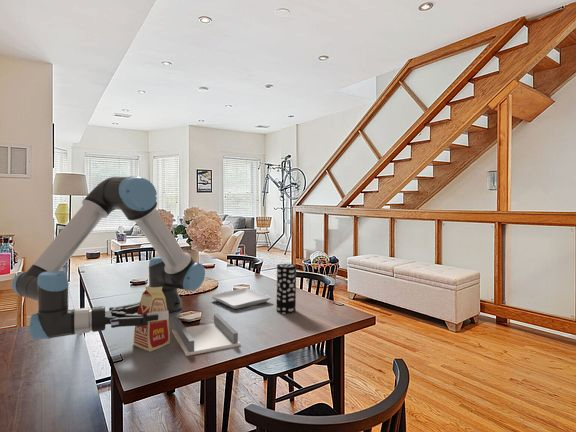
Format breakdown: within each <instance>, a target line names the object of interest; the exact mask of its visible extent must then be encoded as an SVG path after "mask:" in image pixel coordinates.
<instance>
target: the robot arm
mask: <svg viewBox="0 0 576 432" xmlns="http://www.w3.org/2000/svg"><path fill="white" fill-rule="evenodd" d="M157 194H158V193H157V189H156V187H155V186H154V184H153V182H151V181H150V180H149V179H147V178H146V177H142V176H135V175H133V176H112V177H109V178H106V179H103V180H102V181H101V182H99V183H98V184H97V185H96V186H95V187H94V188H93V189H92V190H91V191H90V192H89V193H88V194H87V195H86V196H85V198H83V200H82V202H81V204H82V206H81V207H80V208H79V210H78V211H77V212H75V214H74V215H73V217H72V218H71V219H70V220H69V221H68V222H67V224H65V226H64V227H63V228H62V229H61V231H60V232H59V233H58V234H57V235H56V237H55V238H54V239H53V240H52V241H51V242H50V244H49V245H48V246H47V247H46V248H45V250H44V251H43V252H42V253H41V254H40V255H39V257H37V259H36V260H35V261H34V263H33V264H32V265H31V266H30V267H29V268H28V269H27V270H26V271H22V272H19V273H18V274H16V275H15V276H14V278H13V279H12V282H11V288H12V290H13V292H14V293H16V294H17V295H19V296H21V297H23V298H27V299H32V300H33V301H37V303H38V304H37V305H38V311H37V312H36V313H33V314H31V316H30V318H29V319H30V320H29V336H30V338H31V339H32V340H34V341H35V340H47V339H48V340H49V339H54V338H59V337H66V336H74V335H79V336H82V335H83V334H87V333H90V332H93V333H96V332H101V331H102V332H103V331H105V330H106V325H110V327H111V328H112V329H114V328H119V327H123V328H124V327H135V326H142V325H143V326H144V325H145V326H146V325H147V322H153V321H160V320H167V319H168V320H170V318H169V314H170V313H174V312H176V311H179V310H181V309H182V300H181V297H180V295H179V292H178V290H183V291H186V292H188V291H189V292H193V291H196V290H198V289H199V288H201V286H202V285H203V282H204V280H205V277H206V270H205V266H204V265H203V264H202V263H200V262H196V261H195V260H194V259H193V257H192V255H191V254H190V253H189V252H184V250H183V249H182V247H181V245H180V244H179V242H178V241H177V239H176V238H175V236H174V235H173V232H172V231H171V230H170V228H169V226H168V225H167V224H166V223H165V220H164V219H163V217H162V216H161V214H160V212H159V211H158V209H157V206H158V202H157V199H158V197H157ZM115 210H120V211H121V212H122V213H123V214H124V216H125V218H127V220H129V222H130V221H132V222H135V223H136V225H137V226H138V228H139V230H140V231H141V233H142V234H143V235H144V237H145V238H146V239H147V241H148V242H149V244H150V245H151V246H152V247H153V250H155V252H156V253H157V255H158V256H155V257H151V258H150V259H149V261H148V283H149V285H148V287H162V292H163V294H164V296H165V299H166V305H167V311H160V312H153V313H147V315H146V314H145V315H144V314H137V313H138V309H139V305H140V301H139V302H134V303H129V304H125V305H119V306H111V307H109V308H108V310H107V311H106V306H104V305H101V306H93V307H91V308H90V307H80V308H75V309H73V308H72V309H69V281H68V278H69V277H68V273H67V271H63V270H62V269H63V267H64V266H66V264H67V263H68V261H70V258H71V257H72V256H73V255H74V254H75V253H76V251H77V250H78V249H79V248H80V247H81V245H82V244H83V242H84V241H85V240H86V239H87V238H88V236H89V235H90V234H91V233H92V232H93V231H94V229H95V228H96V227H97V226H98V225H99V223H100V221H101V220H102V219H104V218H105V219H106V218H107V217H109V216H110V214H111V213H112V212H114V211H115Z"/></svg>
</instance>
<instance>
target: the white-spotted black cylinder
mask: <svg viewBox="0 0 576 432" xmlns="http://www.w3.org/2000/svg"><path fill="white" fill-rule="evenodd" d="M296 290H297V265H296V264H292V263H280V264H277V265H276V313H279V314H283V315H291V314H295V312H296V308H297V307H296V305H297V304H296V303H297V300H296V299H297V297H296V296H297V291H296Z"/></svg>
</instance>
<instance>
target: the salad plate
mask: <svg viewBox="0 0 576 432" xmlns="http://www.w3.org/2000/svg"><path fill="white" fill-rule="evenodd" d="M209 295H210V294H209ZM210 297H211V299H213V300H215V301H217V302H219V303H221V304H223V305H225V306H228V307H230V308H231V309H235V310H237V309H243V308H247V307H252V306H256V305H260V304H263V303H265V302H268V301H270V299H271V298H272V297H271V296H270V295H267V294H265V293H262V292H260V291H256V290H254V289H252V288H248V287H244V288H243V287H242V288H238V289H233V290H229V291H223V292H219V293H214V294H211V295H210Z"/></svg>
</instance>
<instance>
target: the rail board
mask: <svg viewBox="0 0 576 432" xmlns="http://www.w3.org/2000/svg"><path fill="white" fill-rule="evenodd" d="M171 330H172V331H171V332H172V334H173V336H174V338H175V339H176V341H177V344H178V345H179V346H180V348H181V350H182V351H183V353H184V355H185V356H186V357H188V356H193V355H198V354H203V353H209V352H214V351H221V350H225V349H230V348H235V347H239V346H241V345H242V343H241V342H240V340H239V336H238V335H239V332H237V331H236V330H235V329H234V328H233V327H232V326H231V325H230V324H229V323H228V322H227V321H226V320H225V319H224V318H223V317H222V316H221V315H219V313H213V323H205V324H199V325H194V326H188V327H187V326H185V325H184V324H183V322H182V321H181V320H180V319H179V318H178V319H174V329H171Z"/></svg>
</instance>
